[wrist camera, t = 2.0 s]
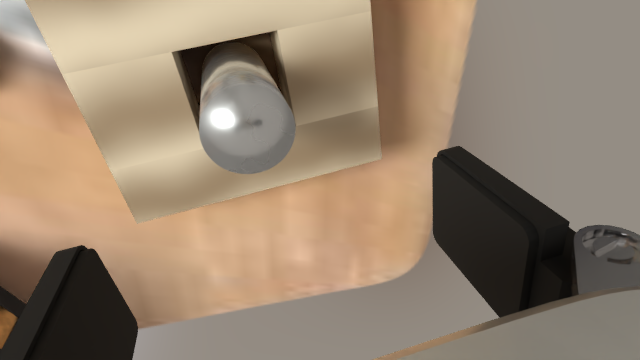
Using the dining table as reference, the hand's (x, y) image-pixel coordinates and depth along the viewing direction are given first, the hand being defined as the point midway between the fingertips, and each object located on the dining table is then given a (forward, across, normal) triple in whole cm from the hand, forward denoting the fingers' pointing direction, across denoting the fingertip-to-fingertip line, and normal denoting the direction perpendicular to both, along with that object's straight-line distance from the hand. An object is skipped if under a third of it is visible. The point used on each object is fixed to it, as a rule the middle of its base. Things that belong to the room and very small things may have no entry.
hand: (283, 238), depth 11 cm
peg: (+17, 0, -1) cm, 17 cm away
